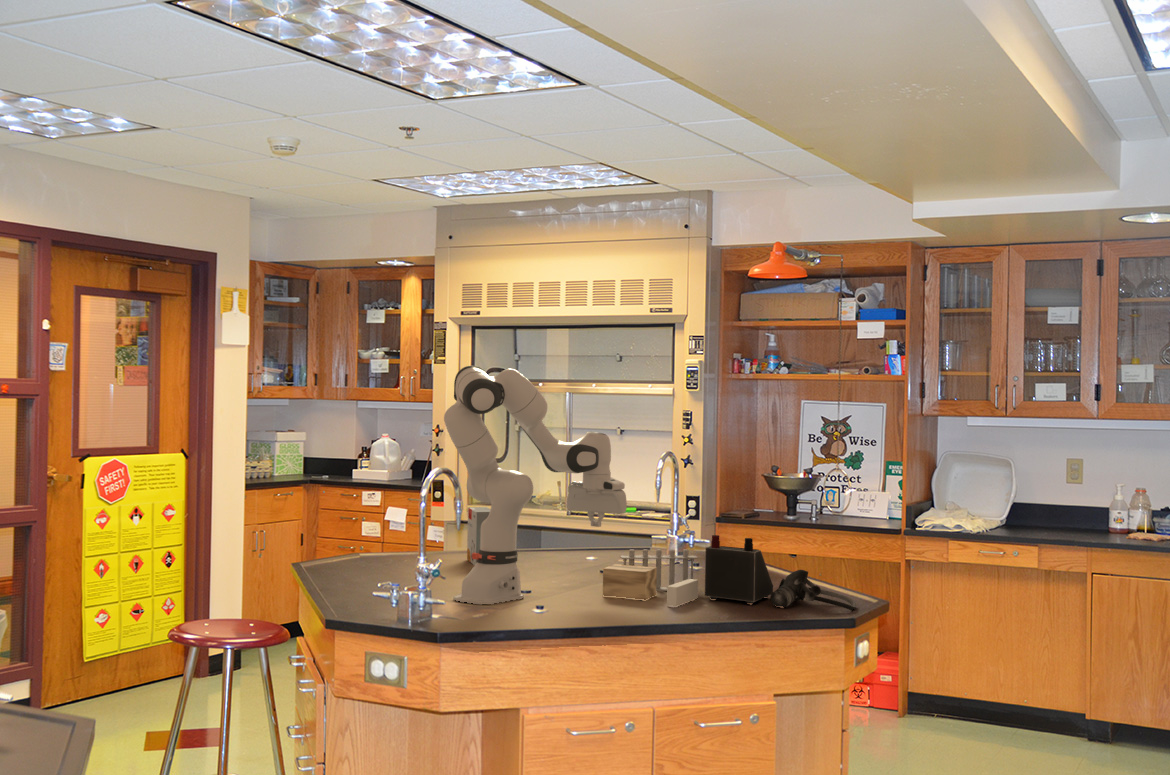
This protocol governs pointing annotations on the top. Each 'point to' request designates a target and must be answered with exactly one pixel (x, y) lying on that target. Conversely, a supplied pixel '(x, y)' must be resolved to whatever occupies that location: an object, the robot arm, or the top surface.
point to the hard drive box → (475, 530)
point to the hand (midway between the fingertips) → (595, 526)
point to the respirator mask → (804, 592)
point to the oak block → (629, 581)
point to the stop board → (682, 592)
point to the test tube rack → (658, 564)
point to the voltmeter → (736, 572)
